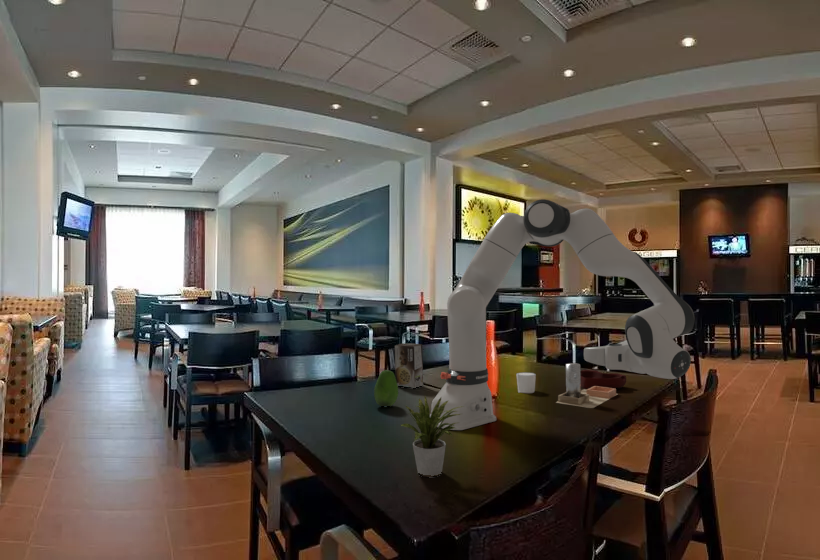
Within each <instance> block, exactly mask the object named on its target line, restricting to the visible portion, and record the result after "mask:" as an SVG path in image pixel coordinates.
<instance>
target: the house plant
mask: <svg viewBox="0 0 820 560" xmlns="http://www.w3.org/2000/svg"><path fill="white" fill-rule="evenodd" d="M448 401H449V400H448ZM448 401H446V402H444V403H443V404H442V405H441V406H440V407H439V404H440V402H441V398H440V399H439V400H438V402H437V404H436V405H435V407H434V409H433V411H432V413H431V410H430V406H429V404H428V400H427V396H424V403H423V400H422V399H420V398H418V405H416V407H418V410H419V412H418V411H417V412H416V411H414V410H413V409H412V408H410V407H409V406H407V405H405V408H406V409H407V410H408V411H409V412H408V411H406V413H408V414H409V416H410V417H412V419H413V421H415V423H416V425H417V427H418V429H419V430H420V432H421V433H420V432H419V430H418V429H417V428H416V427H415V426H413V425H411V424H410V423H402V424H400V426H401V427H405V428H408V429H411V430H413V431H414V435H415V436H414V441H413V442H412V448H413V453H414V459H415V465H416V469H417V474H418V473H420V474H423V475H431V476H434V475H438V474H441V475H442V473H443V466H444V459H445V453H446V445H447V444H446V442H445V441H444V440H442V439H440V438H441V437H443V435H444V434H447V435H449V436H450V437H451V438H453V434H452V432H451V431H450V429H454V427H455V426H454V425H453V424H456V423H452V424H449V423H444V424H442V423H443V421H444V420H445V419H446V418H449V417H452V416H455V415H460V414H453V415H450V414H451V413H453V412H457V411H452V410H454V409H456V408H460V407H456V408H453V409H451V410H449V411H446V413H445V414H444V415H443V416H442V417H441V418H440V416H441V414H442V413H443V411H444V407H445V405H446V404H447V402H448ZM461 407H464V406H461ZM438 408H439V409H438ZM451 411H452V412H451ZM444 412H445V411H444ZM449 412H450V413H449ZM447 413H448V414H447ZM430 414H431V416H430ZM446 414H447V415H446ZM445 415H446V416H445ZM441 421H442V422H441ZM440 422H441V424H440V425H439V427H437V425H438V424H439V423H440ZM445 425H449V426H448V427H445V428H442V427H443V426H445ZM452 425H453V426H454V427H452ZM455 429H456V428H455ZM441 472H442V473H441Z"/></svg>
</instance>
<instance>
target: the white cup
mask: <svg viewBox="0 0 820 560" xmlns="http://www.w3.org/2000/svg"><path fill="white" fill-rule="evenodd" d="M515 374H516V384H517V392H518V393H519V394H520V393H522V394H533V393H535V390H536V380H537V379H536V378H537V377H536V376H537V375H536V373H534V372H527V371H526V372H525V371H523V372H517V373H515Z"/></svg>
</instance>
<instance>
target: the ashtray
mask: <svg viewBox="0 0 820 560" xmlns="http://www.w3.org/2000/svg"><path fill="white" fill-rule="evenodd" d="M580 378H581V389H582V390H584V389H585V390H587V389H589V388H591V387H593V386H599V387H607V388H615V389H616V388H617V389H616V390H619V389H622V388H623V387H624V386H625V385H626V383H627V376H626V375H624V374H620V373H616V372H615V373H610V372H609V373H606V372H605V373H604V372H601V371H598V370H591V369H583V370H580Z"/></svg>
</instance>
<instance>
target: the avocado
mask: <svg viewBox="0 0 820 560" xmlns="http://www.w3.org/2000/svg"><path fill="white" fill-rule="evenodd" d="M373 395H374V396H373V397H374V400H375V402H376V404H377V405H378V406H380V407H381V406H390V407H392V406H394V404H395V403H396V401H397V400H398V397H399V387H398V385H397V381H396V374H395V373H394V372H393V370H392V371H391V370H389V369H384V370H382V371H381V373H380V374H379V375H378V378H377V380H376V383H375V385H374V389H373Z"/></svg>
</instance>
